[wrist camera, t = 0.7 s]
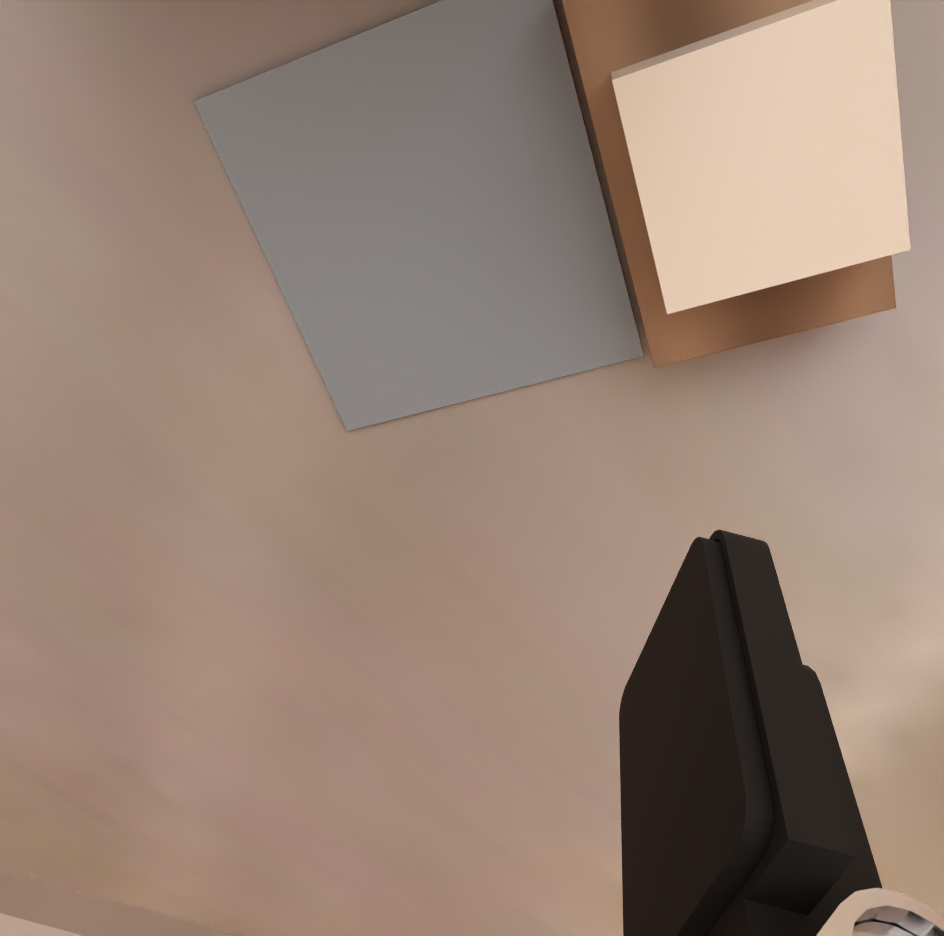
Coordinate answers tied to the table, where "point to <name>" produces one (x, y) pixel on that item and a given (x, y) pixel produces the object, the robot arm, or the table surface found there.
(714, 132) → the cream coaster
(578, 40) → the board
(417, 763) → the table surface
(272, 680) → the table surface
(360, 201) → the slate mat
